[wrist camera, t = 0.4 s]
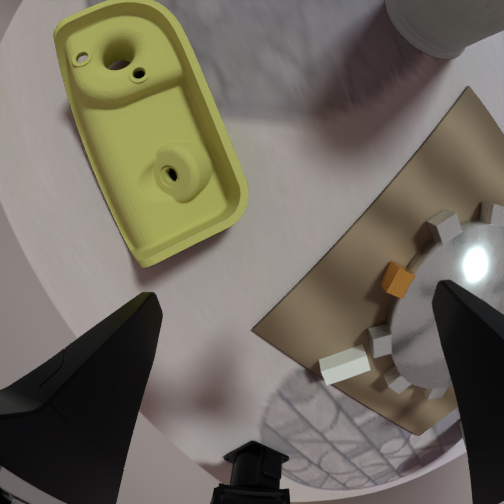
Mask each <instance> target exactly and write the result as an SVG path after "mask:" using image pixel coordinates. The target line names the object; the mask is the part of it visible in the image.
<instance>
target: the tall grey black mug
mask: <svg viewBox="0 0 504 504" xmlns="http://www.w3.org/2000/svg"><path fill="white" fill-rule="evenodd" d="M385 6H386V10H387V13H388V16H389V18H390V20H391V22H392V23H393V25H394V26H395V28H396V29H397V30H398V32H399V33H400V34H401V35H402V36H403V37H404V38H405V39H406V40H407V41H408V42H409V43H410V44H412V45H413V46H414V47H415V48H417V49H418V50H420V51H421V52H423V53H425V54H427V55H429V56H432V57H435V58H439V59H452V58H455V57H457V56H459V55H460V54H461V53H462V52H463V51H464V49H465V48H466V47H467V46H469V45H471V44H473V43H476V42H478V41H480V40H482V39H484V38H487V37H489V36H491V35H494V34H496V33H498V32H501V31H503V30H504V0H385Z"/></svg>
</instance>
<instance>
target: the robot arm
mask: <svg viewBox="0 0 504 504" xmlns="http://www.w3.org/2000/svg"><path fill="white" fill-rule="evenodd" d="M432 309H433V313H434V317H435V321H436V326H437V330H438V334H439V339H440V343H441V347H442V351H443V354H444V357H445V360H446V364H447V367H448V370H449V374H450V377H451V381H452V385H453V388H454V392H455V396H456V400H457V404H458V409H459V413H460V417H461V422H462V427H463V432H464V437H465V443H466V449H467V455H468V463H469V470H470V479H471V489H472V500H473V504H499V503H501V502H502V501H504V314H502V313H501V312H499V311H498V310H496V309H495V308H493V307H492V306H490V305H489V304H487V303H486V302H484V301H483V300H481V299H480V298H478V297H477V296H475V295H474V294H472V293H471V292H469V291H468V290H466V289H464V288H463V287H461V286H460V285H458V284H457V283H455V282H453V281H452V280H450V279H447V280H440V281H439V282H438V283H437V286H436V289H435V293H434V296H433V299H432ZM162 318H163V313H162V309H161V307H160V304H159V301H158V298H157V296H156V294H155V293H154V292H142V293H140V294H139V295H138V296H136V297H135V298H133V299H132V300H130V301H129V302H128V303H126V304H125V305H123V306H122V307H121V308H119V309H118V310H116V311H115V312H114V313H112V314H111V315H109V316H108V317H107V318H105V319H104V320H102V321H101V322H100V323H98V324H97V325H95V326H94V327H93V328H91V329H90V330H89V331H87V332H86V333H84V334H83V335H82V336H80V337H79V338H78V339H76V340H75V341H74V342H72V343H71V344H70V345H68V346H67V347H66V348H65V349H63V350H61V351H60V352H59V353H57V354H56V355H55V356H53V357H52V358H51V359H49V360H48V361H46V362H45V363H43V364H42V365H40V366H39V367H37V368H36V369H34V370H33V371H31V372H30V373H28V374H27V375H25V376H23V377H22V378H20V379H19V380H17V381H16V382H14V383H13V384H11V385H10V386H8V387H6V388H4V389H1V390H0V504H116V502H117V497H118V493H119V488H120V484H121V479H122V475H123V471H124V469H123V468H124V466H125V462H126V458H127V453H128V450H129V446H130V442H131V438H132V434H133V430H134V426H135V423H136V419H137V416H138V412H139V409H140V405H141V401H142V398H143V395H144V391H145V388H146V384H147V381H148V378H149V374H150V371H151V368H152V365H153V361H154V358H155V353H156V348H157V343H158V338H159V333H160V328H161V323H162ZM224 459H225V460H226V461H228V462H230V463H233V467H232V474H231V480H230V485H224V484H221V483H219V487H216V488H214V491H213V496H212V500H211V503H210V504H290V494H289V489H279V488H280V479H281V470H282V464H283V463H285V462H287V461H288V460H289V457H288V456H286V455H284V454H282V453H279V452H277V451H275V450H273V449H271V448H268V447H266V446H264V445H262V444H260V443H258V442H255V441H252V442H250V443H248V444H246V445H244V446H242V447H241V448H239V449H237V450H235V451H233V452H231V453H230V454H228V455H226V456H225V457H224Z"/></svg>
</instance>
